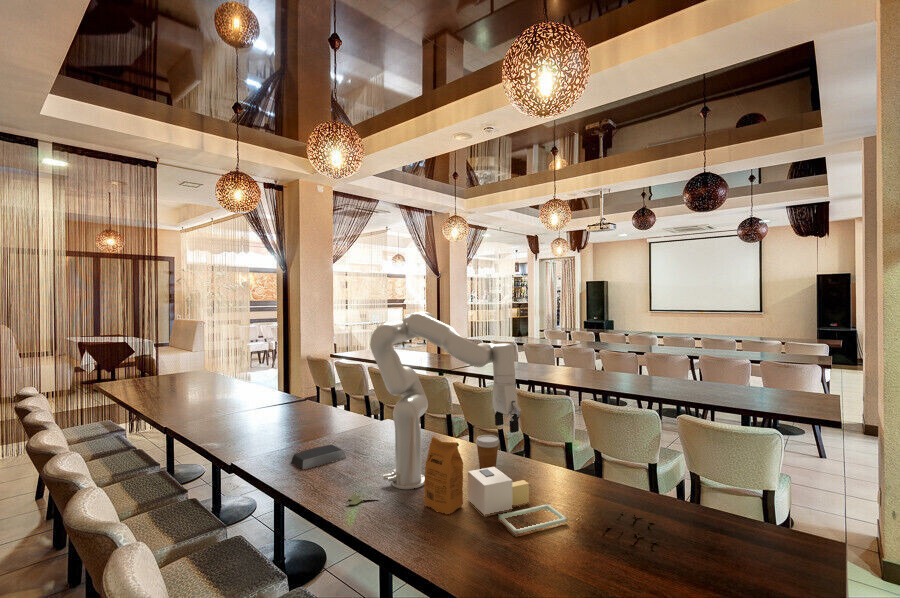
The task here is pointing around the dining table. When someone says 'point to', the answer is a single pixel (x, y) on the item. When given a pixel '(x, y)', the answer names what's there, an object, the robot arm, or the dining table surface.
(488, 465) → the disposable coffee cup
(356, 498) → the green leaf
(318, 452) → the dark grey ingot block
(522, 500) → the pale yellow paper bar
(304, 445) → the dining table surface
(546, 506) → the tray
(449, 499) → the coffee package
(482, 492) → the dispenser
